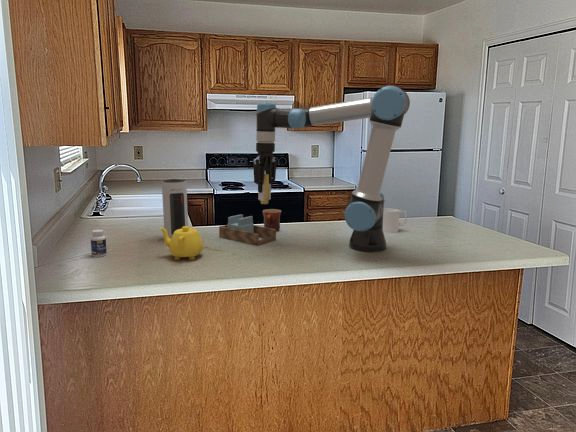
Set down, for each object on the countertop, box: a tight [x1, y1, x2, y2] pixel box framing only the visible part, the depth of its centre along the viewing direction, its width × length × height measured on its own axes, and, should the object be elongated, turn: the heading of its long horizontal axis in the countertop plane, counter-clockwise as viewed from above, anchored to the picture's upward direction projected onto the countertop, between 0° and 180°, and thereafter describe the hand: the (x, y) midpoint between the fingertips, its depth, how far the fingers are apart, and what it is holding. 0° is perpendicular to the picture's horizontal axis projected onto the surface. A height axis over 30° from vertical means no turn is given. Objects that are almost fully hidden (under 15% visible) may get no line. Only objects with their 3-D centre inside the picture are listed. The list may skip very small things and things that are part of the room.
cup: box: [383, 207, 408, 234], centre depth 231 cm, size 8×12×10 cm
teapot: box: [158, 225, 204, 261], centre depth 185 cm, size 14×14×12 cm
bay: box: [218, 224, 277, 247], centre depth 209 cm, size 22×12×6 cm, turn 51°
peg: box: [260, 174, 269, 205], centre depth 199 cm, size 3×3×12 cm
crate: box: [226, 214, 255, 233], centre depth 210 cm, size 8×8×9 cm
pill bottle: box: [90, 229, 108, 258], centre depth 186 cm, size 5×5×10 cm
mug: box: [262, 208, 282, 232], centre depth 223 cm, size 12×9×10 cm
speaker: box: [161, 178, 189, 239], centre depth 210 cm, size 11×10×26 cm
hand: (264, 199), depth 200 cm, fingers closed on peg, 3 cm apart
